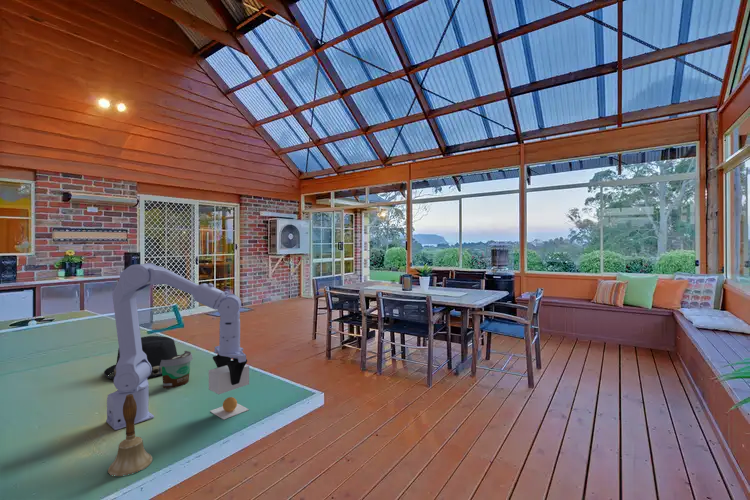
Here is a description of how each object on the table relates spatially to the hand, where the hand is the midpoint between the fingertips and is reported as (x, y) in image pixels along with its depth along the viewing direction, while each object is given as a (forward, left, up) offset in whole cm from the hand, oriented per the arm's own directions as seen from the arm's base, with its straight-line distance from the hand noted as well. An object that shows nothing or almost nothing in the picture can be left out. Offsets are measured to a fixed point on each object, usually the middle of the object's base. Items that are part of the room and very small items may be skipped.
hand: (229, 381), depth 108 cm
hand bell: (-28, -8, -9) cm, 31 cm away
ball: (0, 0, -7) cm, 7 cm away
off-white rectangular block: (0, 0, -2) cm, 2 cm away
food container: (0, +33, -9) cm, 34 cm away
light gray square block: (0, 0, -9) cm, 9 cm away
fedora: (-2, +58, -9) cm, 59 cm away
